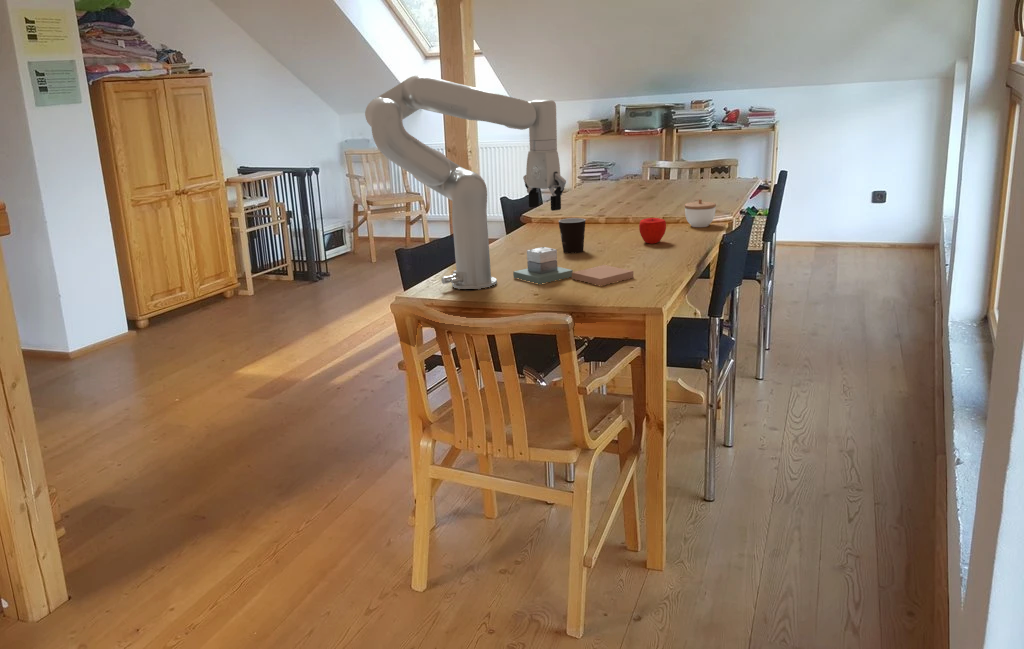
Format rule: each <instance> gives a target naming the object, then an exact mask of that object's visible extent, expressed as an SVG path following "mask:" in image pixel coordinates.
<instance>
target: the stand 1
mask: <svg viewBox="0 0 1024 649" xmlns="http://www.w3.org/2000/svg"><path fill="white" fill-rule="evenodd" d="M512 272H513V273H512V274H513V279H514V278H519V279H522V280H526V281H530V282H534V283H538V284H541V285H543V284H542V283H546V282H550V283H552V282H551V281H554V282H556V281H555V280H558V281H560V280H559V279H563V280H565V279H564V278H567V279H570V278H569V277H571V278H572V272H574V270H573V269H570V268H566V267H561V266H558V270H557V271H553V272H549V273H544V274H537V273H533V272H529V271H528V267H527V268H524V269H519V270H514V271H512ZM522 280H521V281H522ZM526 281H525V282H526ZM530 282H529V283H530ZM546 284H547V283H546Z"/></svg>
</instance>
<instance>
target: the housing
mask: <svg viewBox="0 0 1024 649" xmlns="http://www.w3.org/2000/svg"><path fill="white" fill-rule="evenodd" d="M557 251H558V250H557V249H556V248H551V247H545V246H543V247H536V248H531V249H527V250H526V259H527V268H528V271H529V272H533V273H537V274H544V273H549V272H553V271H557V270H558V267H559V265H558V252H557Z"/></svg>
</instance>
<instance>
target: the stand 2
mask: <svg viewBox="0 0 1024 649" xmlns="http://www.w3.org/2000/svg"><path fill="white" fill-rule="evenodd" d="M630 278H632V279H634V270H631V269H627V268H620V267H616V266H612V265H611V266H610V265H607V264H602V265H598V266H595V267H594V266H593V267H590V268H585V269H581V270H575V271H573V272H572V277H571V280H572V279H575V280H574V281H577V280H580V281H579V282H581V281H584V282H583V283H585V282H588V283H587V284H589V283H592V284H591V285H593V284H596V285H595V286H597V285H600V286H599V287H602V286H601V285H604V286H606V284H608V285H611V284H610V283H612V284H614V283H613V282H616V283H618V282H617V281H620V282H623V281H622V280H624V281H627V280H626V279H628V280H630Z"/></svg>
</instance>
